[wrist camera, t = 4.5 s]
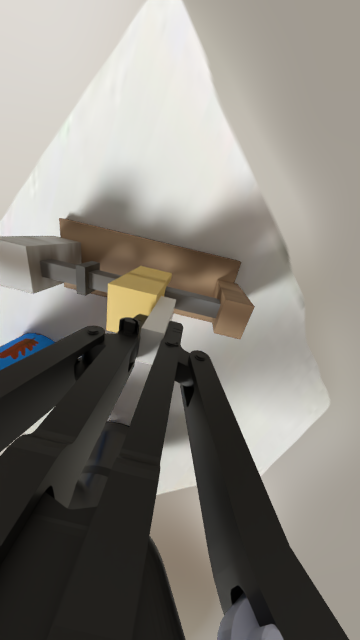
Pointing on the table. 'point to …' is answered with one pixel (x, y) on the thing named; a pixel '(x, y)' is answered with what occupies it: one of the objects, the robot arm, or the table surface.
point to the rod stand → (127, 270)
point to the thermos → (22, 348)
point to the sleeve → (134, 294)
